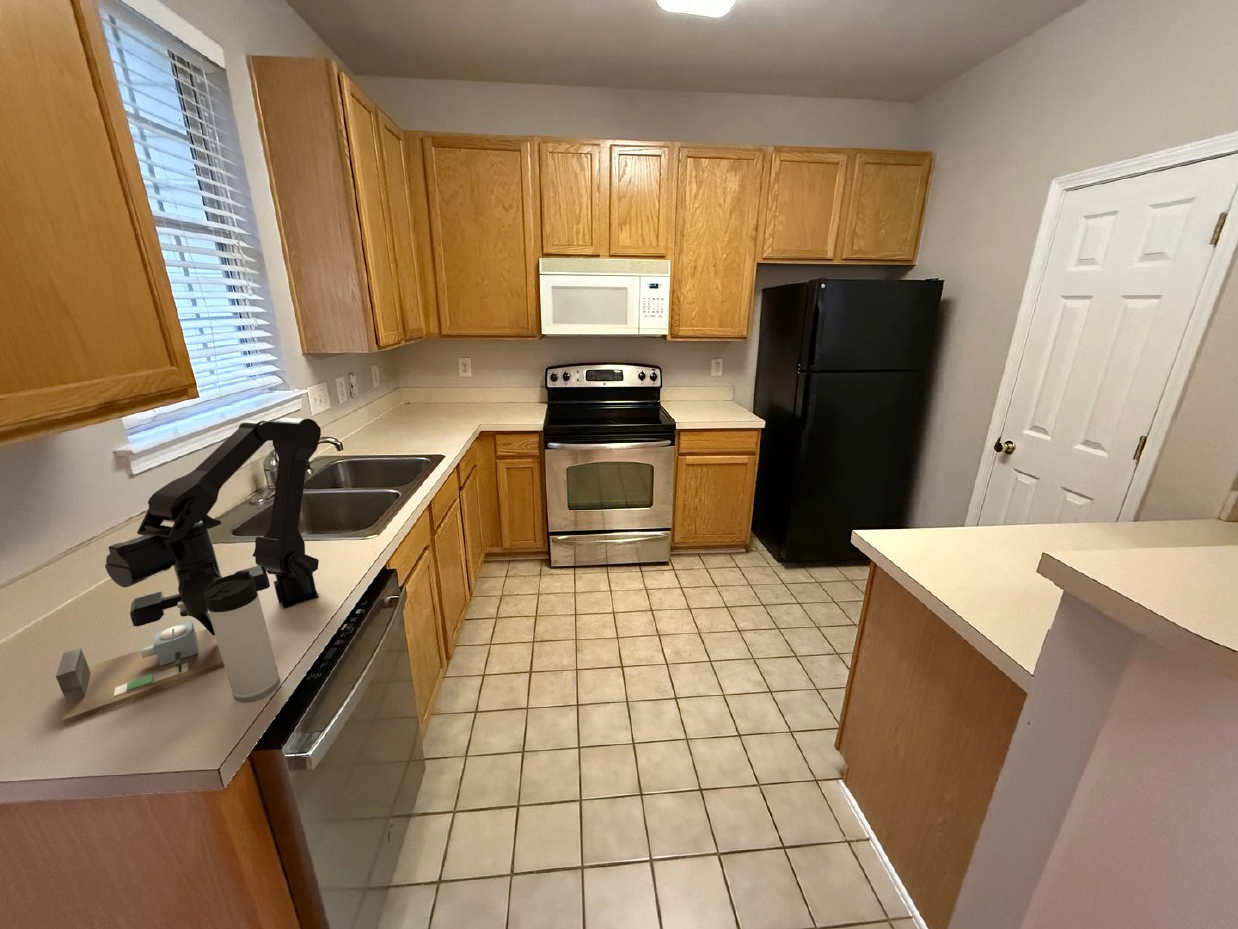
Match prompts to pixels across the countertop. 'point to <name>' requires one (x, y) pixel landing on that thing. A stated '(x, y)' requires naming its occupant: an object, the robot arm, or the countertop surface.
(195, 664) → the gauge board
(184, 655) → the force gauge
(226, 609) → the travel mug
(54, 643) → the countertop surface
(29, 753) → the countertop surface
